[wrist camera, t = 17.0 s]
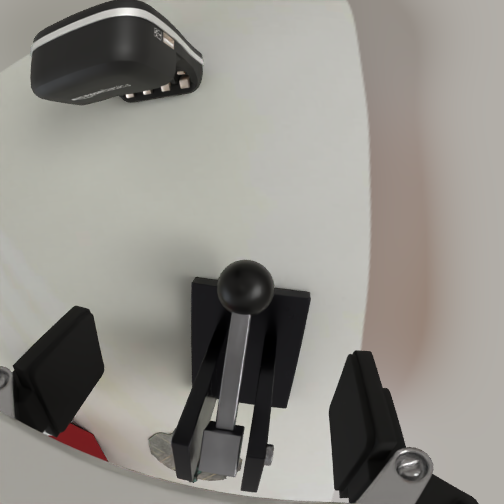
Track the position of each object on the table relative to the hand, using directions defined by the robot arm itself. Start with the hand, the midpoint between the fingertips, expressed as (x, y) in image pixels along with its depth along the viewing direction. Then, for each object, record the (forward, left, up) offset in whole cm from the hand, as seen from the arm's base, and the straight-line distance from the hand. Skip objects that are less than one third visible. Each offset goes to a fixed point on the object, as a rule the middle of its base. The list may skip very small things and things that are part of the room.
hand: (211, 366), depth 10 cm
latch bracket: (+9, 0, -14) cm, 17 cm away
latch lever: (+6, 0, -7) cm, 9 cm away
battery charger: (-12, -8, -14) cm, 20 cm away
